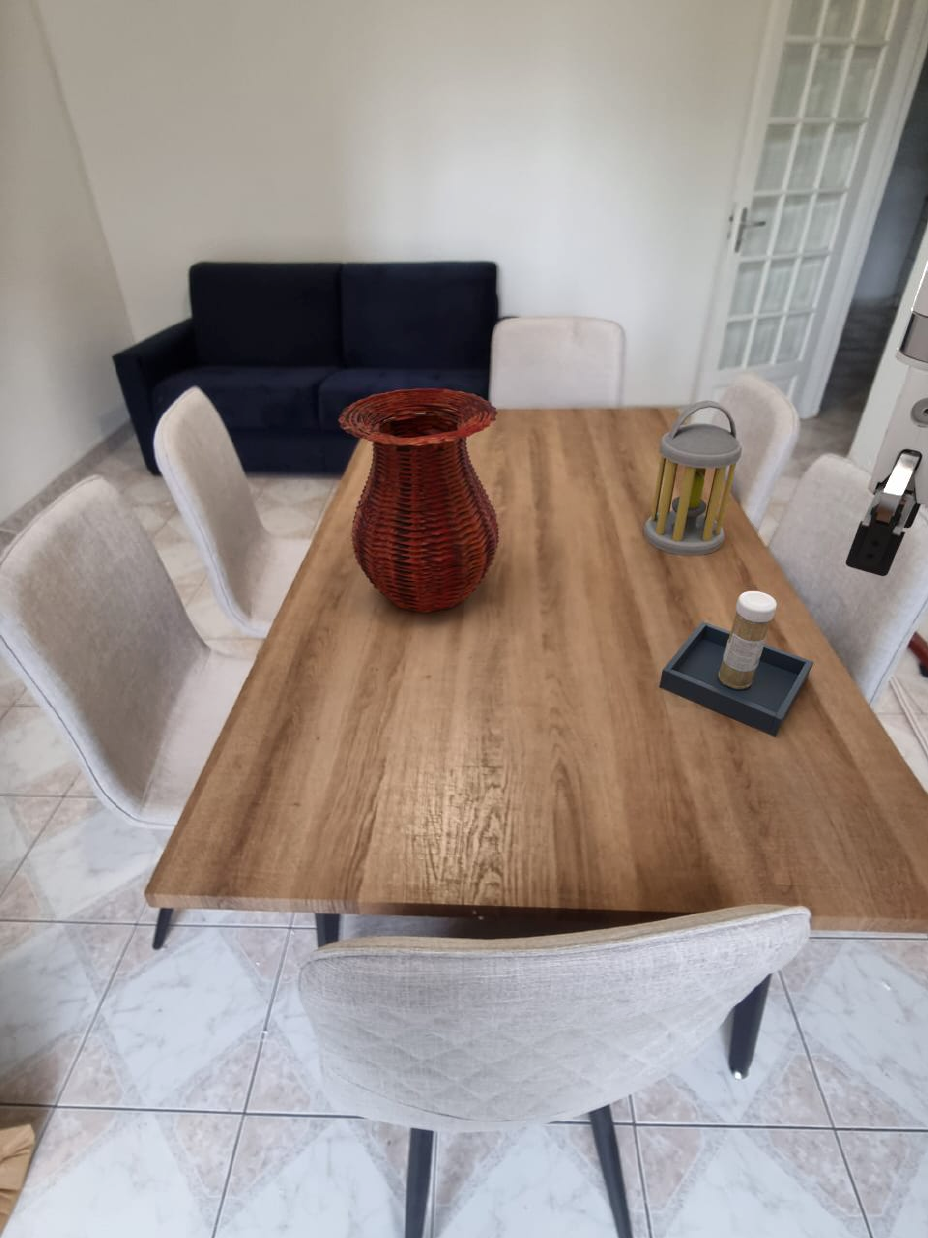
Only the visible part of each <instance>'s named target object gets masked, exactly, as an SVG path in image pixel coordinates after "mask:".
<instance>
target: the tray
mask: <svg viewBox="0 0 928 1238" xmlns="http://www.w3.org/2000/svg"><path fill="white" fill-rule="evenodd" d="M730 633H731V630H729V629H725V628H722V627H720V626H717V625H714V624H712V623H710V622H706V621H704V620H702V621H701V622H700V623H699V624H698V626H697V627H696V628H695V629H694V631H693V632H692V633H691V634H690V635H689V637H688V638H687V639H686V640H685V642H684V643H683V644H682V646H681V647H680V648H679V649H678V650H677V652H675V654H674V656H672V658H671V659H670V660H669V661H668V663H667V664H666V665H665V666H664V668H663V669H662V672H661V677H660V681H659V688H661V689H663V690H666V691H668V692H670V693H673V694H675V695H677V696H679V697H682V698H685V700H686V699H687V700H689V701H691V702H694V703H695V704H698V705H701V706H703V707H705V708H708V709H709V710H711V711H714V712H717V713H719V714H721V715H724V716H726V717H728V718H730V719H733V720H735V721H738V722H740V723H743V724H744V725H747V726H750V727H752V728H754V729H756V730H758V731H761V732H763V733H766V734H767V735H770V736H772V737H777V735H778V733H779V732H780V729H781V728H782V726H783V724H784V723H785V720H786V718H787V717H788V715H789V713H790V711H791V710H792V708H793V706H794V705H795V702H796V700H797V698H798V697H799V695H800V693H801V691H802V689H803V688H804V686H805V684H806V682H807V681H808V678H809V676H810V673H811V670H812V668H813V665H814V661H813V660H809V659H807V658H805V657H802V656H799V655H797V654H794V653H791V652H788V651H786V650H783V649H780V648H777V647H774V646H772V645H769V644H767V643H764V646H763V650H762V653H761V656H760V659H759V662H758V665H757V667H756V669H755V673H754V676H753V682H752V684H751V686H750V687H748V688H746V689H733V688H730V687H728V686H726V685H724V684H723V683H722V682H721V681H720V679H719V676H718V673H719V671H720V669H721V665H722V662H723V656H724V652H725V649H726V645H727V642H728V639H729V636H730Z"/></svg>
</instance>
